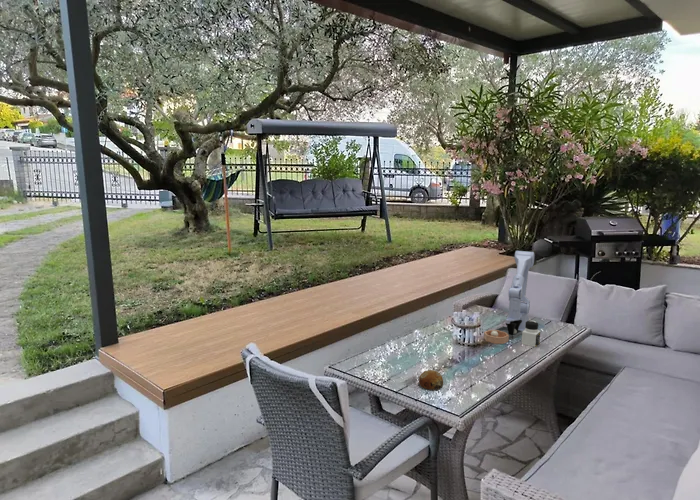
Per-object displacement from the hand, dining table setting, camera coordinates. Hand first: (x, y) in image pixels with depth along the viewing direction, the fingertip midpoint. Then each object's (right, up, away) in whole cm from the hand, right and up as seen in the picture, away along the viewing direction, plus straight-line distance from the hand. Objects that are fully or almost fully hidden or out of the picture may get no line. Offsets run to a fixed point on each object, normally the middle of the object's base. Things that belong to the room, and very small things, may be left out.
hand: (512, 333), depth 256 cm
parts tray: (-2, -1, +2) cm, 3 cm away
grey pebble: (0, -1, 0) cm, 1 cm away
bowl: (-11, -2, -6) cm, 13 cm away
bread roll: (-54, -11, -59) cm, 81 cm away
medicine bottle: (+5, -4, -12) cm, 13 cm away
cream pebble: (-11, -2, -5) cm, 13 cm away
